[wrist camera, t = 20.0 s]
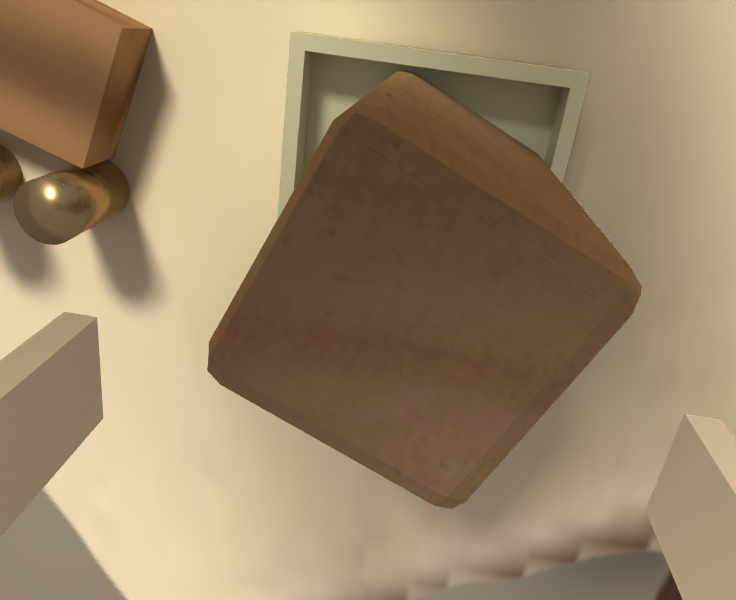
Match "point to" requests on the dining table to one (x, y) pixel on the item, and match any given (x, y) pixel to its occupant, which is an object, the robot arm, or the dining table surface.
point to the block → (422, 294)
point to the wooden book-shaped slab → (68, 75)
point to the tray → (443, 70)
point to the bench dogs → (63, 198)
